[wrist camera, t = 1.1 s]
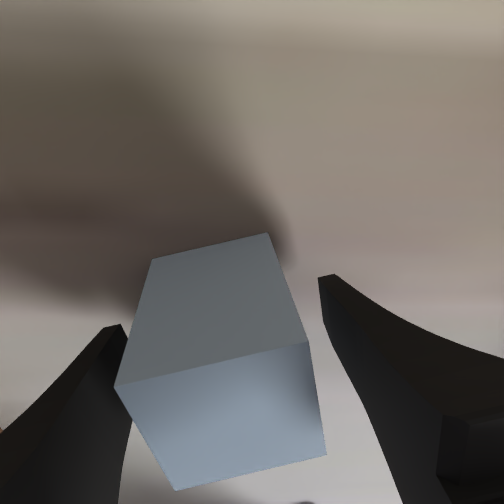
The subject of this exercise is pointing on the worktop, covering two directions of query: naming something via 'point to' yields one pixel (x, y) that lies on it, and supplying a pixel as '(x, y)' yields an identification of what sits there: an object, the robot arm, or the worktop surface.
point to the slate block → (220, 366)
